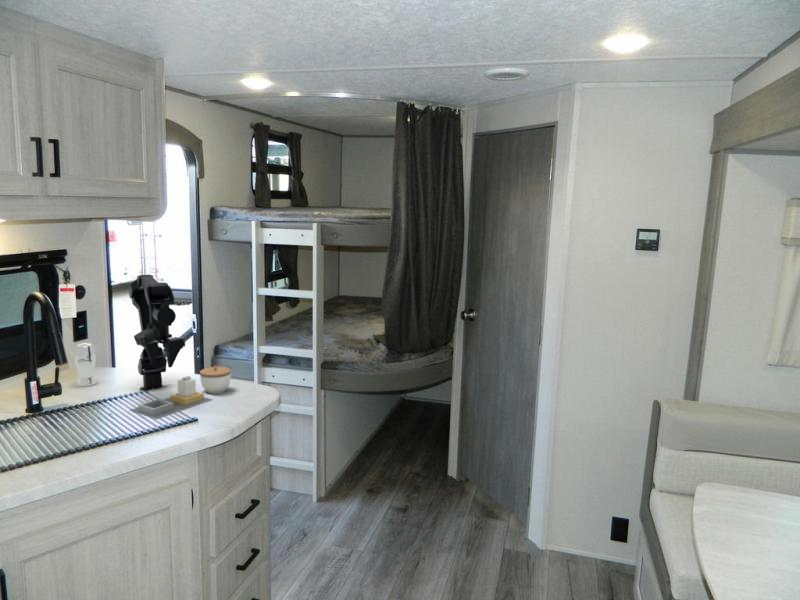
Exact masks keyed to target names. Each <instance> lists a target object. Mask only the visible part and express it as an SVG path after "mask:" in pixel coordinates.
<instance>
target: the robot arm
mask: <svg viewBox="0 0 800 600" xmlns="http://www.w3.org/2000/svg"><path fill="white" fill-rule="evenodd" d="M128 294H129V299H131V303H132V305H133V306H134V307H135V308H136V310H137V311H138V319H139V324H140V330H141V331H139V332H138V333H137V334H135V335H133V338H134V341H135V343H136V345H137V346H140V347H142V351H141V353H140V354H139V357H140V358H139V359H138V364H137V372H138V374H139V375H140V376H142V379H143V380H142V382H143V386H141V387H139V389H140V390H143V391H146V392H147V391H151V390H157V389H161V388H163V387H164V385H163V377H162V373H166V371H167V366H168V368H172V367H173V365H174V364H175V360H176V358H177V357H178V355H179V353H180V351H181V350H182V349H183V348H184V347H186V340H185V339H184V338H181V337H176V336H175V337H173V334H172V333H170V328H169V327H171V326H172V324H173V323H174V322H175V320H176V318H177V317H176V316H177V315H176V313H175V311H174V310H173V309H172V308H170V305H174V303H175V296H174V293H173V289H172V288H171V286H170V285H169V284H168V283H167V282H161V281H160V282H159V281H157V280H156V279H155V278H154V275H152V274H139V275H137V276H136V279H135V280H133V282H131V283H130V286H129V288H128ZM159 344H162V347H163V348H162V347H160V346H159ZM164 352H165V354H166V356H165V355H164Z"/></svg>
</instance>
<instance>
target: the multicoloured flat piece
mask: <svg viewBox="0 0 800 600" xmlns="http://www.w3.org/2000/svg"><path fill="white" fill-rule="evenodd" d="M211 401H213V399H212V398H209V397H205V394H204V392H199V391H197V390H196V395H193V396H190V397H187V398H184V397H181V396H178V392H177V393H173V394H170V397H167V398H164V399H162V398H158V399H154V400H151V401H146V402H144V403H141V404H140V403H139V404H138V405H137V406H138V407H135V408H131V409H129V410H128V411H129V412H132V413H136V414H139V415H142V416H145V417H149V418H151V419H155V420H158V419H161V418H164V417H167V416H170V415H174V414H175V413H179V412H182V411H184V410H185V411H186V410H188V409H190V408H194V407H196V406H200V405H203V404H206V403H207V402H211Z"/></svg>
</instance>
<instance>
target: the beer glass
mask: <svg viewBox="0 0 800 600" xmlns="http://www.w3.org/2000/svg"><path fill="white" fill-rule="evenodd" d="M96 357H97V355H96V348H95V343H94V342H93V343H92V342H81V343H77V344H74V345H73V359H74V364H75V368H76V371H77V375H78V376H77V386H78V387H89V386H94V385H96V384H97V381H96V380H97V379H96V376H95V368H96V359H97V358H96Z"/></svg>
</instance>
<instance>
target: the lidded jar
mask: <svg viewBox="0 0 800 600" xmlns="http://www.w3.org/2000/svg"><path fill="white" fill-rule="evenodd" d="M199 376H200V383H201V386H202V387H203V389H204V391H206V392H207V393H208V394H211V395H212V394H213V395H216V394H222V393H224V392H225V391H226V389H228V387H229V386H230V383H231V379H232V378H231V377H232V369H231V368H230V367H227V366H226V367H225V366H217V365H214V366H209V367H205V368H203V369H201V370H200V371H199Z"/></svg>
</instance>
